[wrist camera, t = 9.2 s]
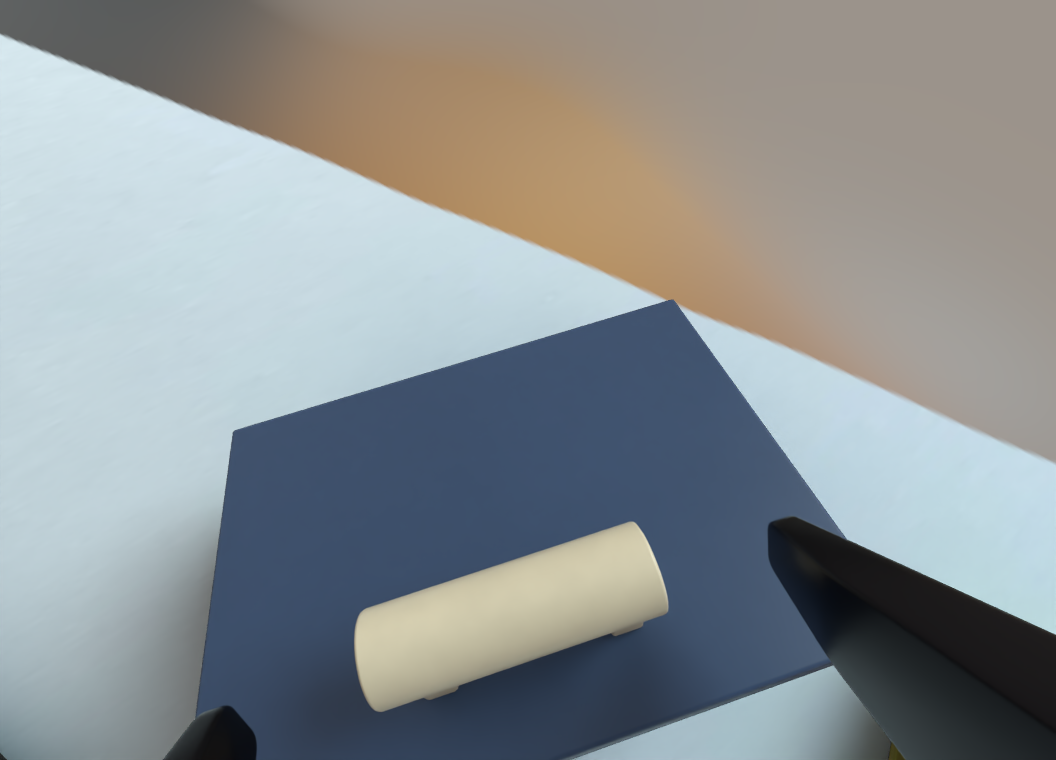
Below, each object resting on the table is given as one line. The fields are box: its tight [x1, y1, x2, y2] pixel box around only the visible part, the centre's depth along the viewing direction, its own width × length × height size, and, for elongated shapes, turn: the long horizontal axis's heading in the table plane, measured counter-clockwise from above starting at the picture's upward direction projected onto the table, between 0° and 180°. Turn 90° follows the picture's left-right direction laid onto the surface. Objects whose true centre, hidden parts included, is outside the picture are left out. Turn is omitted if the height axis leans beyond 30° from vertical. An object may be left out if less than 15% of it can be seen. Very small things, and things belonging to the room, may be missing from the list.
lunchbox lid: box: [195, 300, 846, 760], centre depth 12 cm, size 11×15×4 cm
